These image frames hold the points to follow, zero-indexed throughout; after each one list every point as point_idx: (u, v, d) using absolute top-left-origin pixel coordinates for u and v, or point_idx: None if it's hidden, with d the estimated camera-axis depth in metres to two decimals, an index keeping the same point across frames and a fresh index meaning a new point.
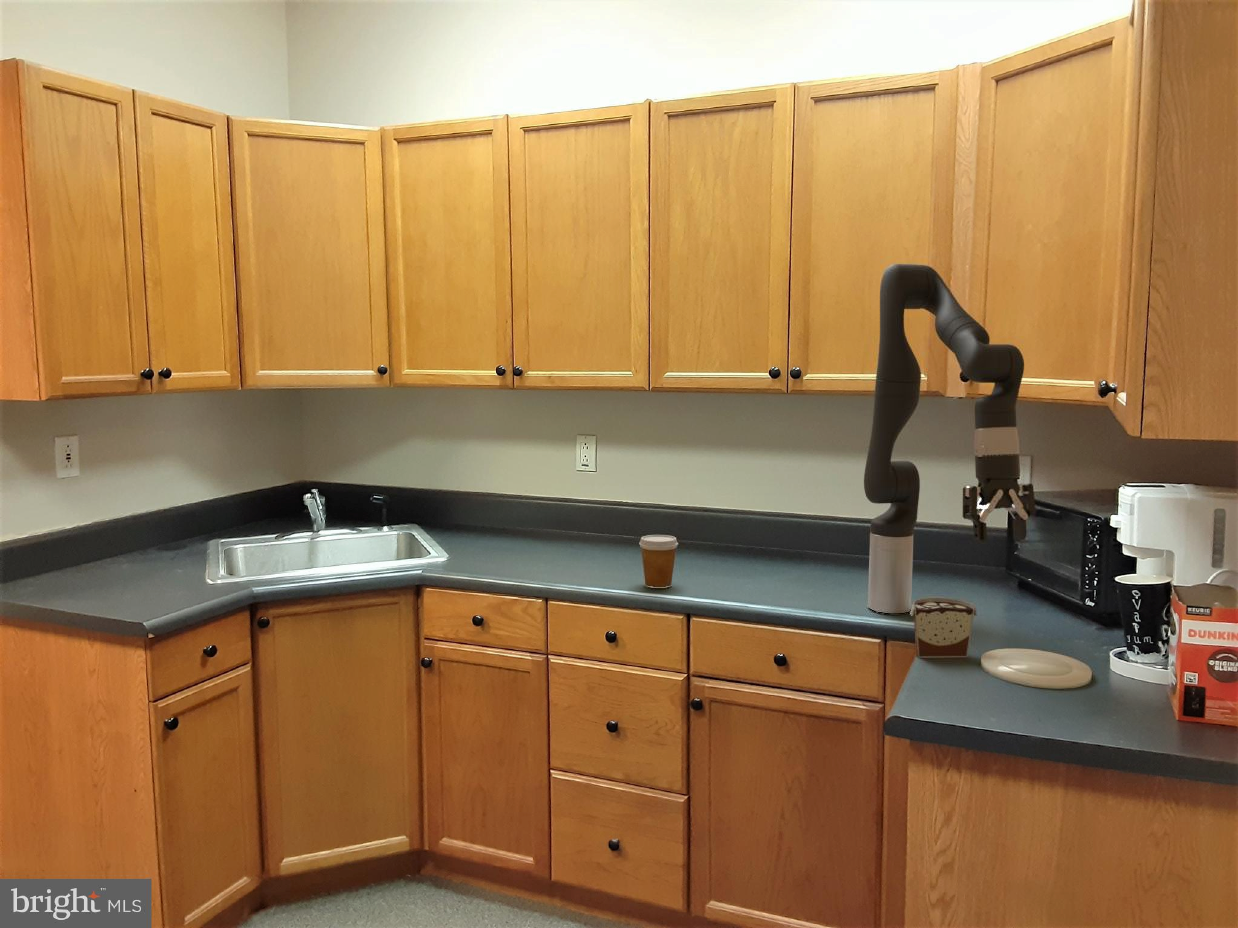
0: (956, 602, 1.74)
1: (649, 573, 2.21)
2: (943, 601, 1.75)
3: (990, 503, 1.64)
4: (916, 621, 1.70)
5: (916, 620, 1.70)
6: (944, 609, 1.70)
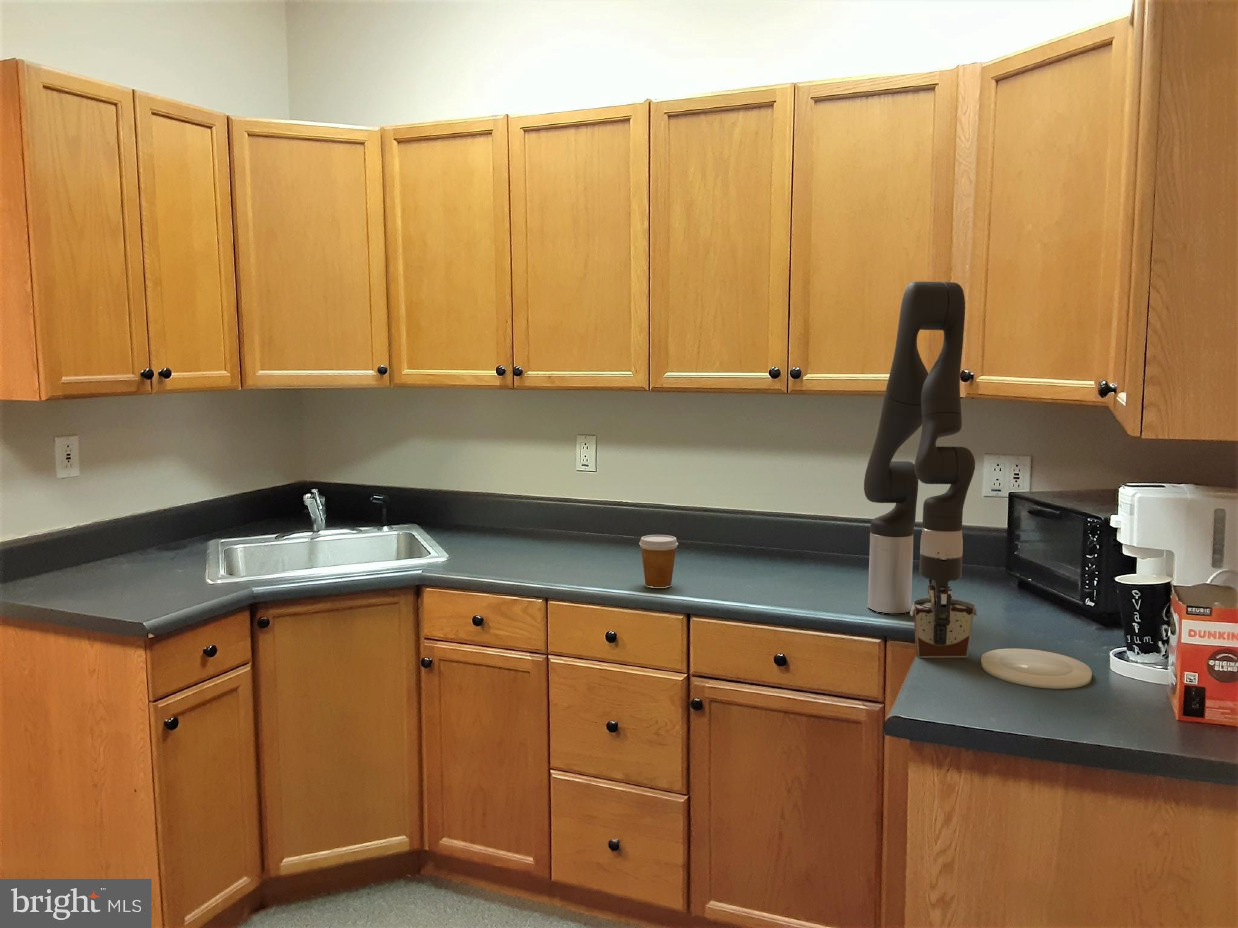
0: (956, 602, 1.74)
1: (649, 573, 2.21)
2: None
3: None
4: (916, 621, 1.70)
5: (916, 620, 1.70)
6: None
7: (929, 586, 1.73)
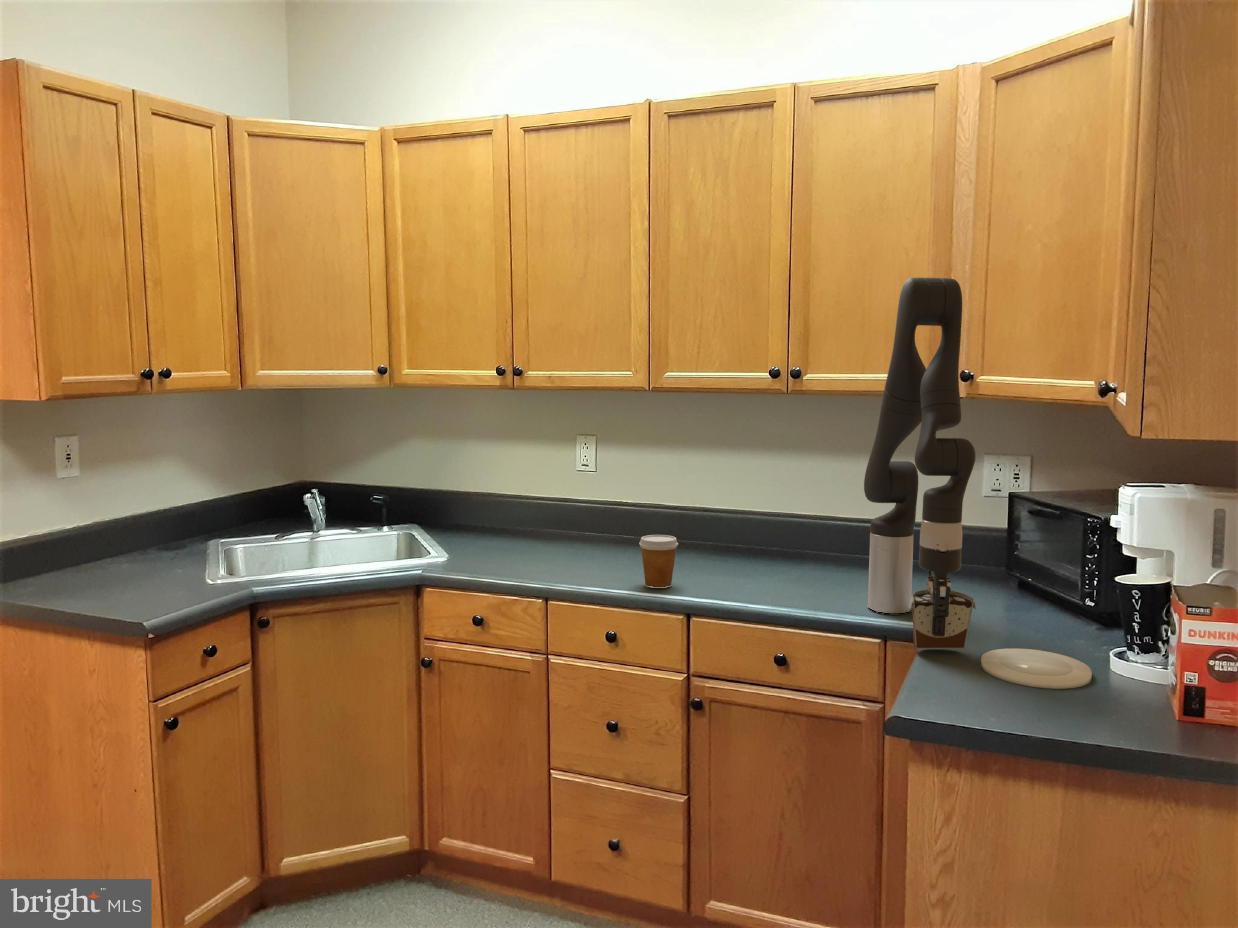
0: (956, 594, 1.74)
1: (649, 573, 2.21)
2: None
3: (949, 597, 1.69)
4: (914, 614, 1.71)
5: (914, 613, 1.70)
6: None
7: (928, 577, 1.73)
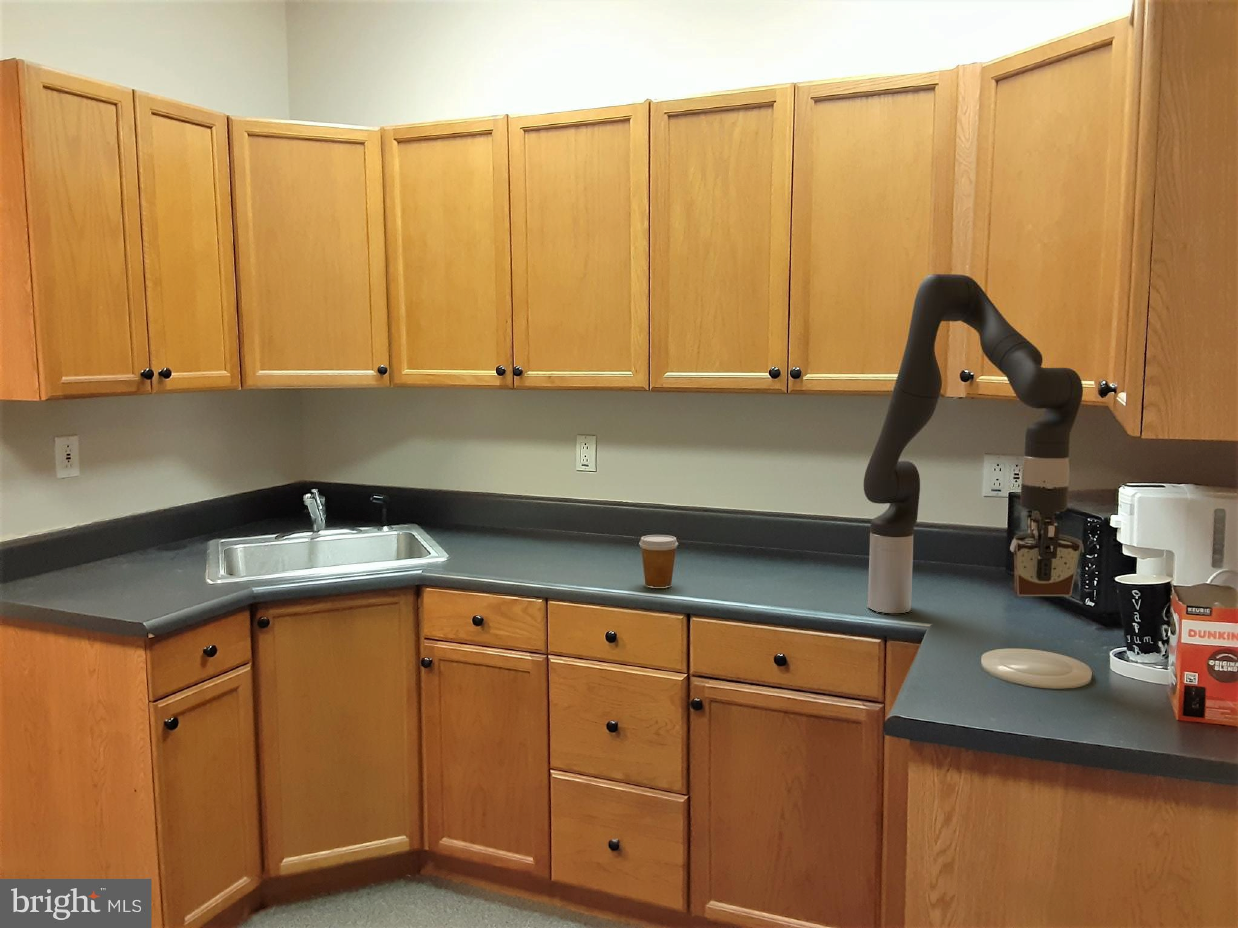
0: (1060, 537, 1.62)
1: (649, 573, 2.21)
2: None
3: None
4: (1017, 557, 1.58)
5: (1017, 556, 1.58)
6: None
7: (1030, 519, 1.61)
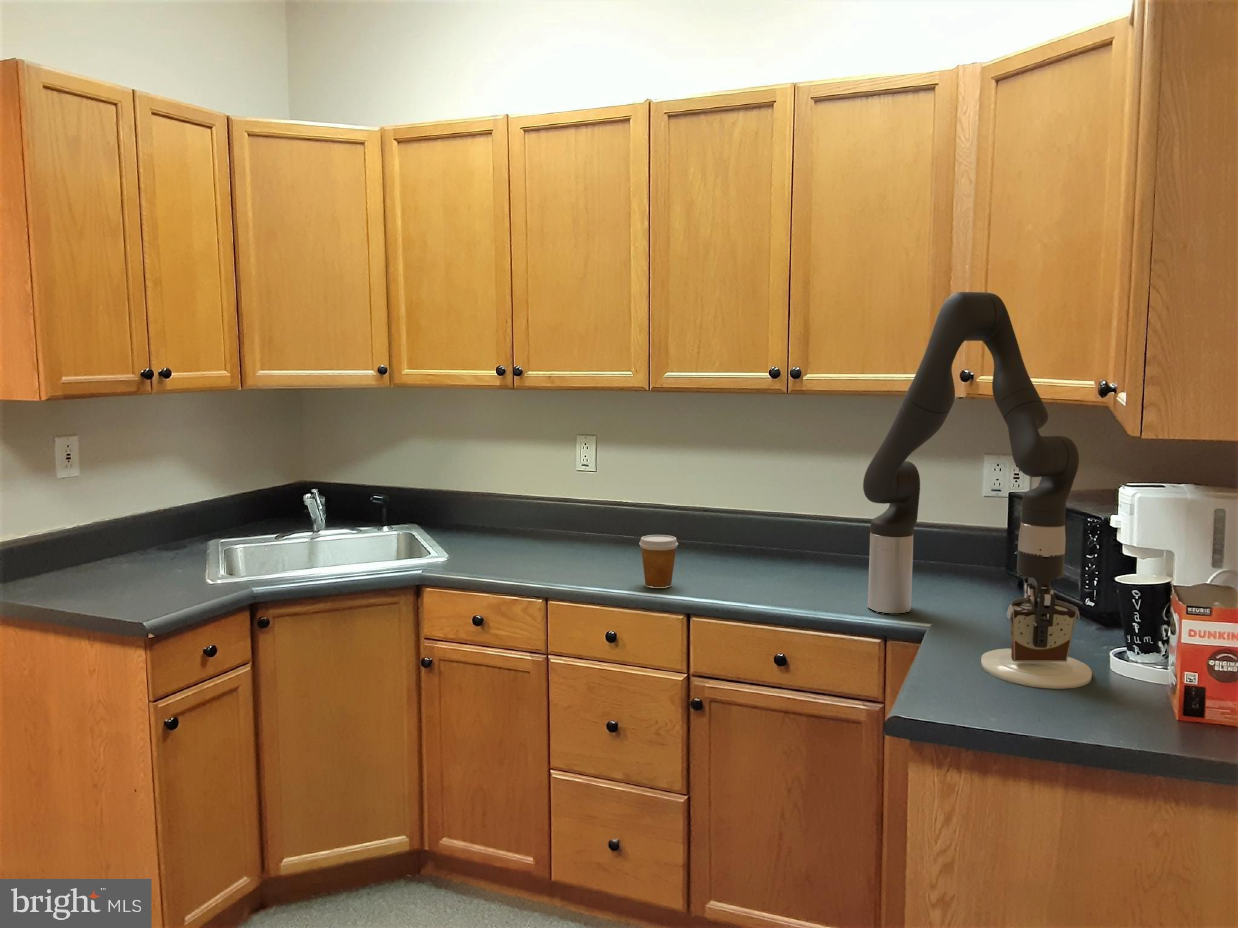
0: (1056, 603, 1.63)
1: (649, 573, 2.21)
2: None
3: None
4: (1014, 624, 1.60)
5: (1014, 623, 1.60)
6: None
7: (1027, 584, 1.63)
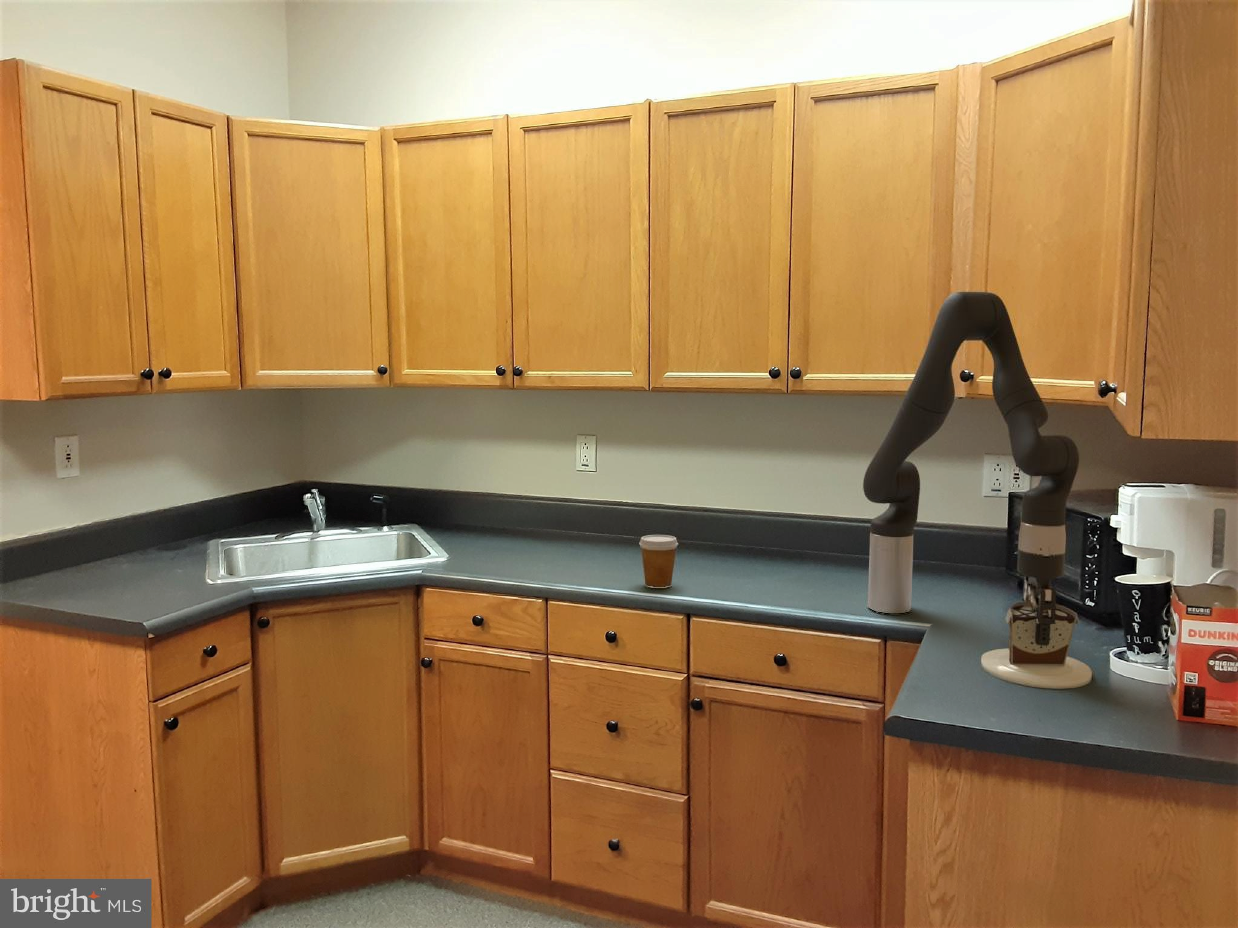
0: (1056, 607, 1.63)
1: (649, 573, 2.21)
2: None
3: None
4: (1012, 629, 1.61)
5: (1012, 628, 1.61)
6: None
7: (1027, 584, 1.63)
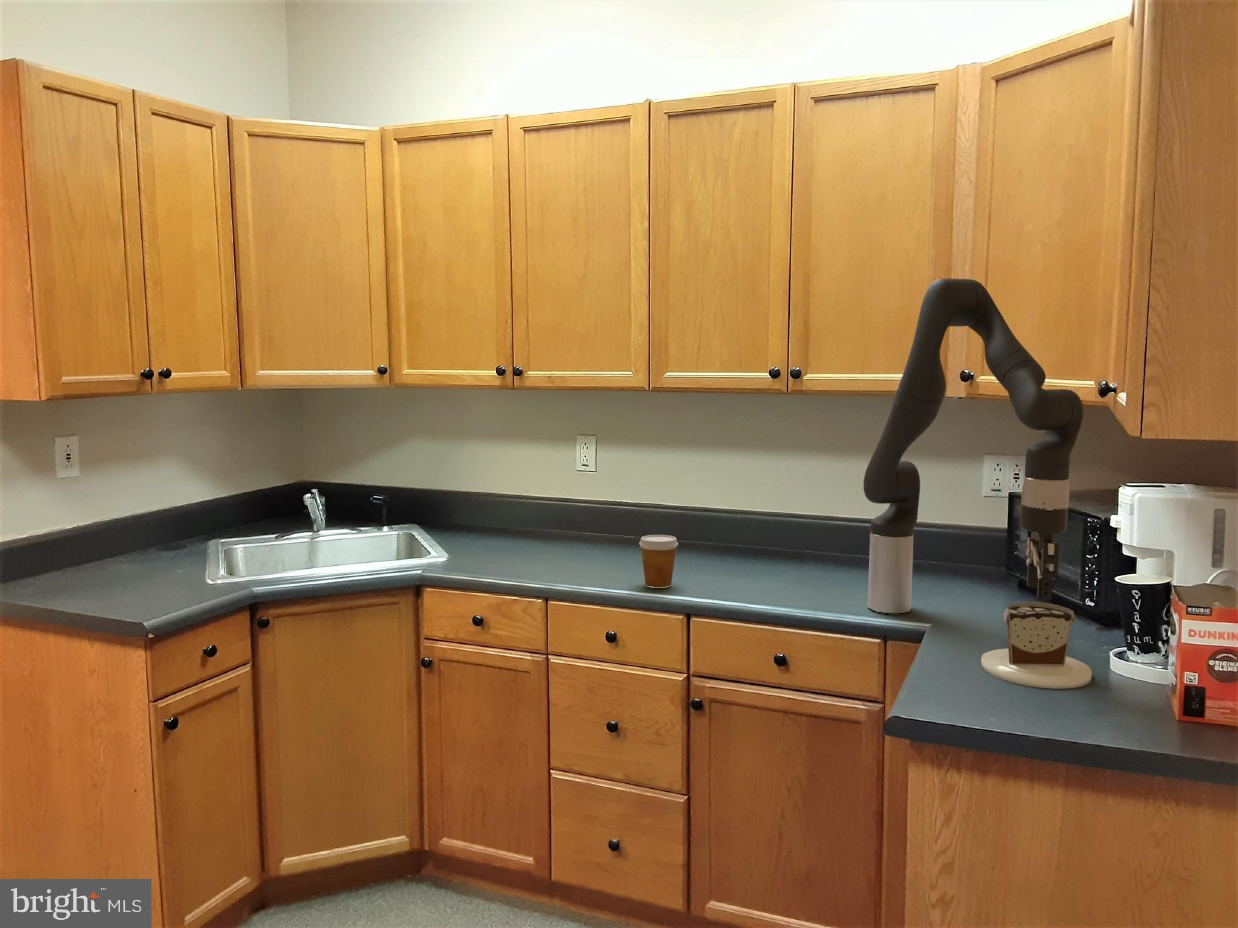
0: (1053, 607, 1.65)
1: (649, 573, 2.21)
2: (1038, 606, 1.66)
3: None
4: (1010, 627, 1.62)
5: (1010, 625, 1.62)
6: (1040, 615, 1.61)
7: (1030, 540, 1.62)
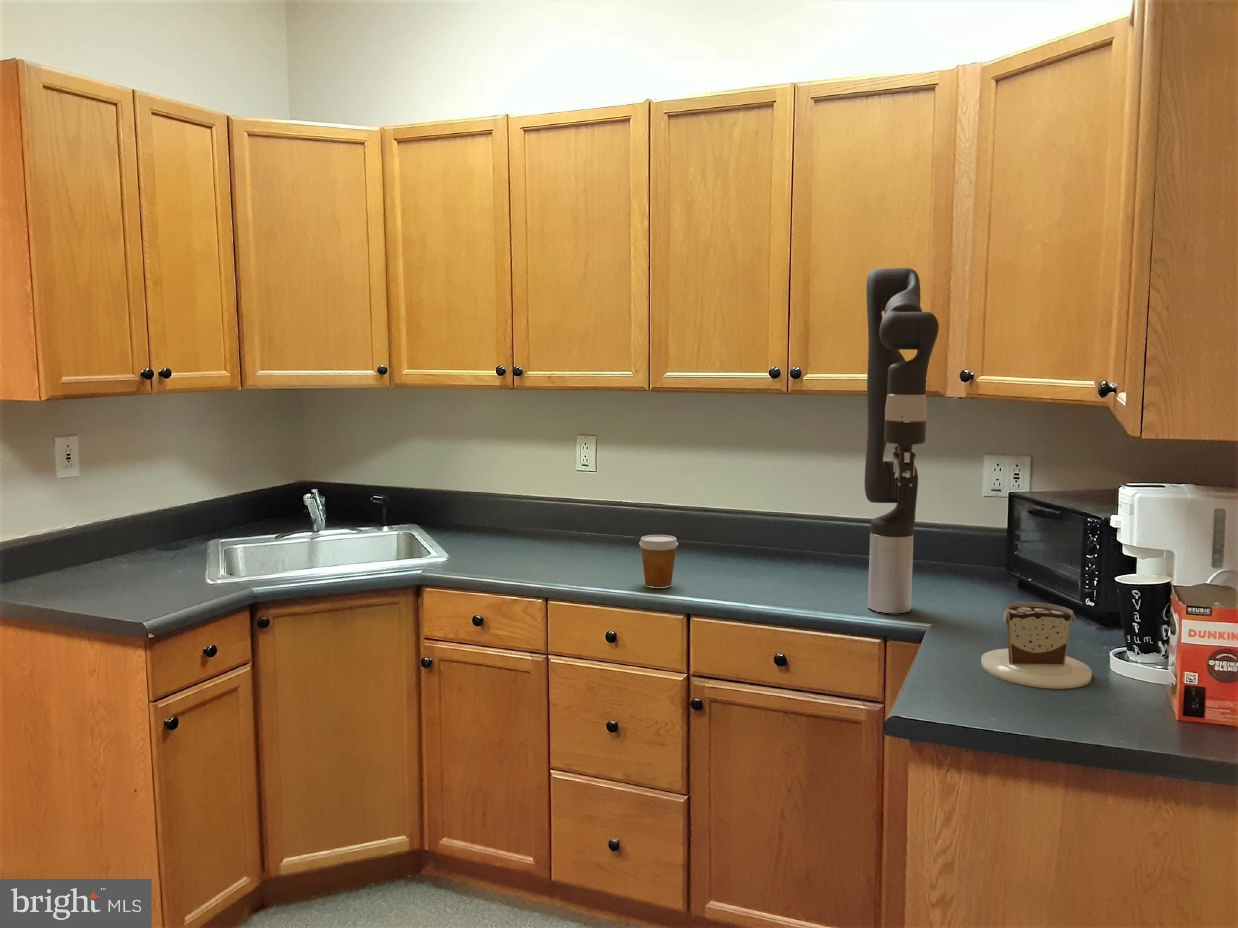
0: (1052, 607, 1.65)
1: (649, 573, 2.21)
2: (1038, 606, 1.66)
3: (914, 467, 1.70)
4: (1009, 626, 1.62)
5: (1009, 625, 1.62)
6: (1040, 614, 1.61)
7: (894, 453, 1.75)
